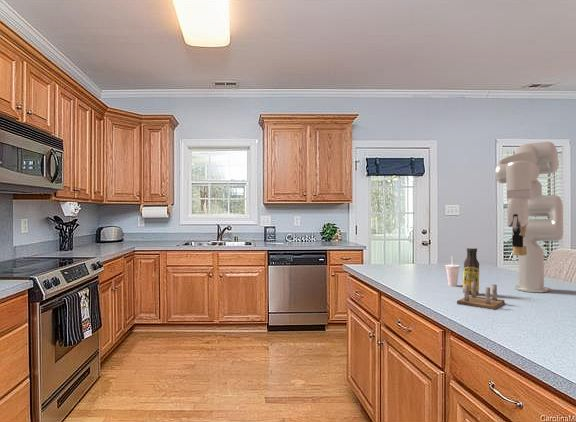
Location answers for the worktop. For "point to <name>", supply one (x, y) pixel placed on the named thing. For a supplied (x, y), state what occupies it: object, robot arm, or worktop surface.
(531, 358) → the worktop surface
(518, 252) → the sprinkles bottle
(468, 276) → the sauce bottle
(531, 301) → the worktop surface
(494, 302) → the pin tray
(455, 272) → the smoothie
